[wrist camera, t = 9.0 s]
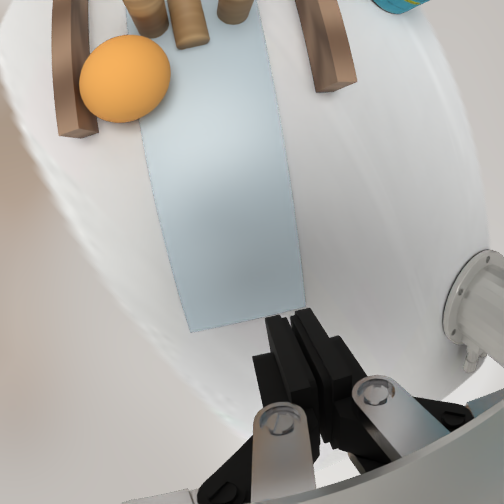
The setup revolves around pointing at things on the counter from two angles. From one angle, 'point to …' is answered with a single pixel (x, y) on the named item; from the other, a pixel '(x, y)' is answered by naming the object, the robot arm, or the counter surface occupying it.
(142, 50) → the ball
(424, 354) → the counter surface
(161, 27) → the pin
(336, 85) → the fence
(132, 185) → the counter surface
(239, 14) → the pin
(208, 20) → the lane
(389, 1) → the tube
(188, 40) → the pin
